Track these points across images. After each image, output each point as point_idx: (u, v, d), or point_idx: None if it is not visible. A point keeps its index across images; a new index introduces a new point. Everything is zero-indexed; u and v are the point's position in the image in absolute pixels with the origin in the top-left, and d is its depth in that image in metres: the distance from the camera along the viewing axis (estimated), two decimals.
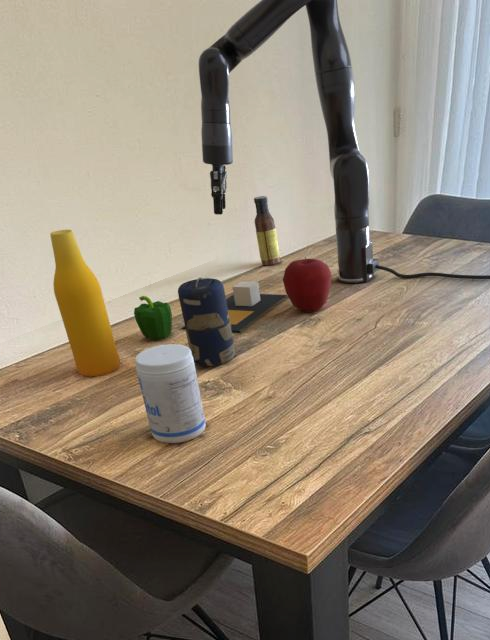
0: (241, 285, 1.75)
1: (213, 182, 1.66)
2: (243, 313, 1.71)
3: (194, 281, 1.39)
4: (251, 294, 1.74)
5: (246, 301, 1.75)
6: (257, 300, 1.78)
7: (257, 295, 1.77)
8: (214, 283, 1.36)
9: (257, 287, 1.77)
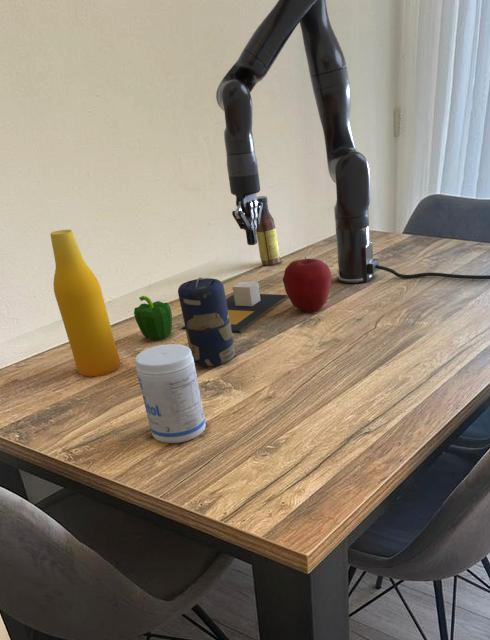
0: (241, 285, 1.75)
1: (238, 220, 1.69)
2: (243, 313, 1.71)
3: (194, 281, 1.39)
4: (251, 294, 1.74)
5: (246, 301, 1.75)
6: (257, 300, 1.78)
7: (257, 295, 1.77)
8: (214, 283, 1.36)
9: (257, 287, 1.77)
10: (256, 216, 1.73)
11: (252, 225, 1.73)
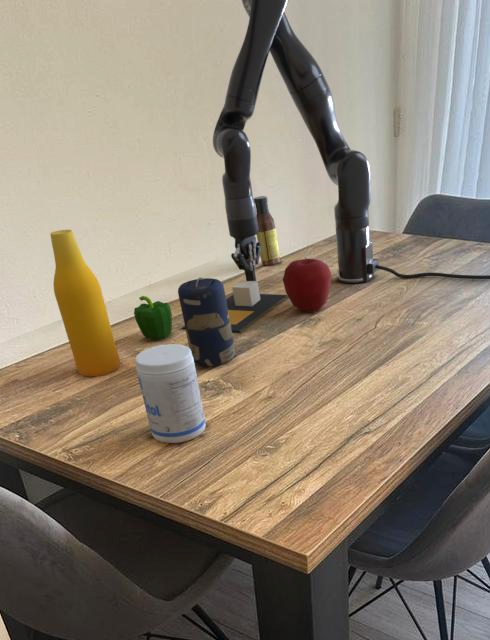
0: (241, 285, 1.74)
1: (237, 262, 1.72)
2: (243, 313, 1.71)
3: (194, 281, 1.39)
4: (251, 294, 1.74)
5: (246, 301, 1.75)
6: (257, 300, 1.77)
7: (257, 295, 1.77)
8: (214, 283, 1.36)
9: (257, 286, 1.76)
10: (255, 257, 1.75)
11: (251, 266, 1.75)
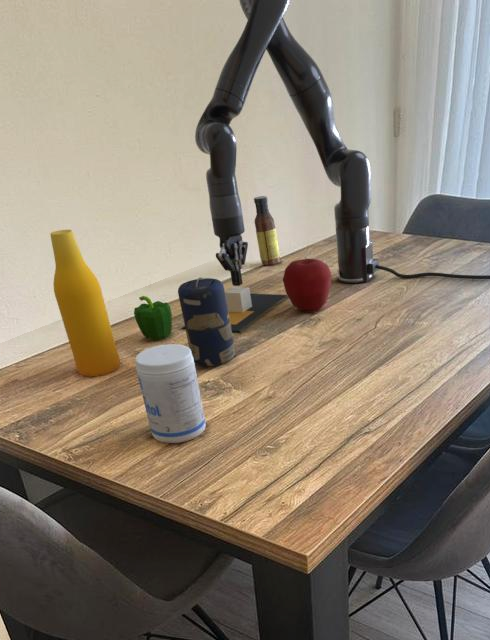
0: (232, 307, 1.72)
1: (221, 262, 1.65)
2: (243, 313, 1.71)
3: (194, 281, 1.39)
4: (246, 307, 1.73)
5: None
6: (249, 294, 1.73)
7: (247, 294, 1.72)
8: (214, 283, 1.36)
9: (242, 294, 1.70)
10: (241, 257, 1.68)
11: (237, 266, 1.68)
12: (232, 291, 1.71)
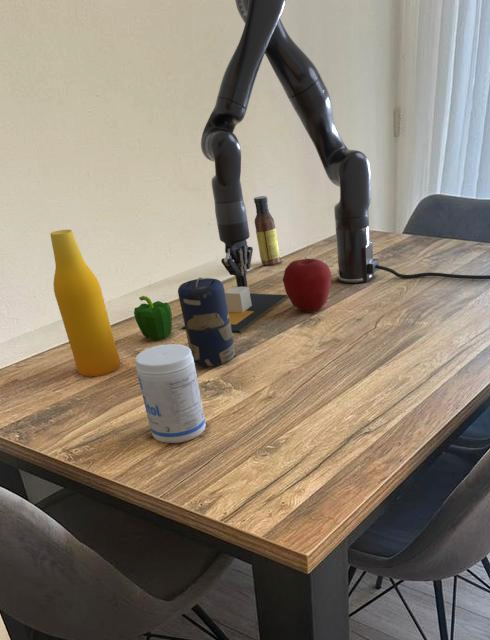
0: (232, 307, 1.72)
1: (227, 267, 1.68)
2: (243, 313, 1.71)
3: (194, 281, 1.39)
4: (246, 306, 1.73)
5: None
6: (249, 294, 1.73)
7: (246, 294, 1.72)
8: (214, 283, 1.36)
9: (242, 294, 1.70)
10: (246, 261, 1.71)
11: (242, 271, 1.71)
12: (232, 291, 1.70)
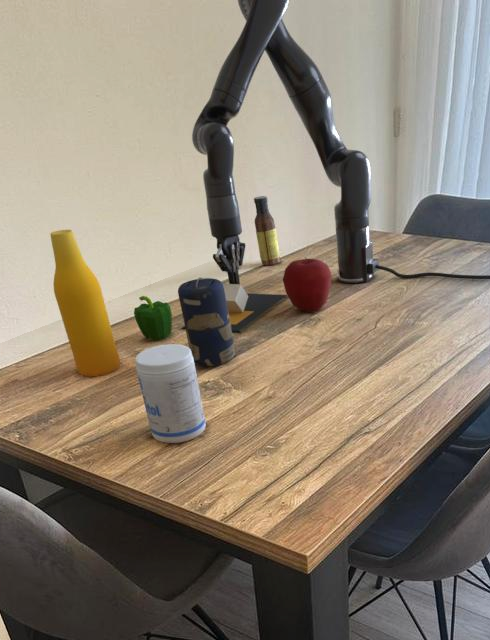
0: (230, 309, 1.71)
1: (219, 263, 1.64)
2: (243, 313, 1.71)
3: (194, 281, 1.39)
4: (244, 303, 1.71)
5: None
6: (242, 290, 1.70)
7: (240, 293, 1.69)
8: (214, 283, 1.36)
9: (237, 298, 1.68)
10: (238, 258, 1.68)
11: (234, 267, 1.67)
12: (226, 296, 1.68)
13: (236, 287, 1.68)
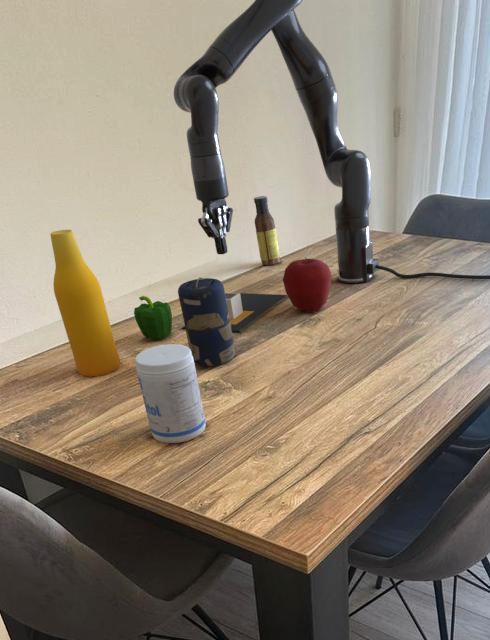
0: None
1: (205, 228, 1.56)
2: (243, 313, 1.71)
3: (194, 281, 1.39)
4: (240, 305, 1.70)
5: None
6: (234, 299, 1.67)
7: (234, 304, 1.67)
8: (214, 283, 1.36)
9: (234, 313, 1.68)
10: (225, 223, 1.60)
11: (221, 233, 1.60)
12: None
13: (228, 303, 1.66)
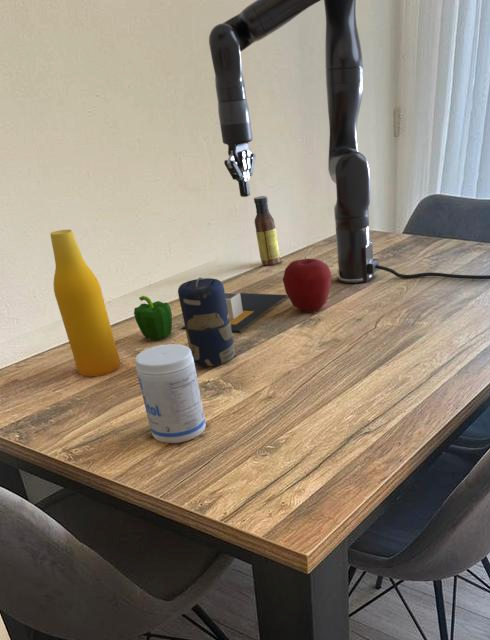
0: None
1: (230, 170, 1.68)
2: (243, 313, 1.71)
3: (194, 281, 1.39)
4: (240, 305, 1.70)
5: None
6: (234, 299, 1.67)
7: (234, 304, 1.67)
8: (214, 283, 1.36)
9: (234, 313, 1.68)
10: (249, 167, 1.72)
11: (245, 176, 1.72)
12: None
13: (228, 303, 1.66)
